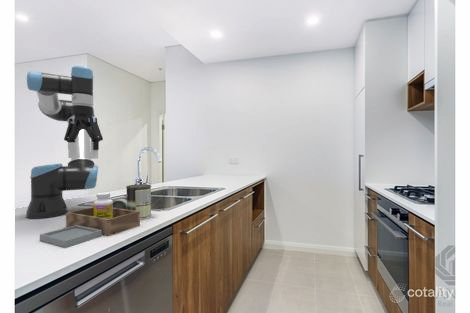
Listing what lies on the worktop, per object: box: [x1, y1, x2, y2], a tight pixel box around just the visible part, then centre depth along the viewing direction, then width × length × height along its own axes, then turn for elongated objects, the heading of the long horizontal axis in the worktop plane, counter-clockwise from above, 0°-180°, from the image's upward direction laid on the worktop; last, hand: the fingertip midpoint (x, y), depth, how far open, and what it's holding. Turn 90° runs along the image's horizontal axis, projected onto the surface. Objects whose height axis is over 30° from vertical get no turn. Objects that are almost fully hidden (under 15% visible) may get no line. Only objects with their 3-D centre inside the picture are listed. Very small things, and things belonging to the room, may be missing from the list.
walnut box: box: [65, 206, 141, 237], centre depth 98 cm, size 24×14×6 cm, turn 64°
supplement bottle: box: [93, 192, 114, 219], centre depth 98 cm, size 7×7×13 cm
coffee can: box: [125, 183, 152, 221], centre depth 111 cm, size 10×10×14 cm
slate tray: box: [39, 225, 103, 249], centre depth 84 cm, size 14×12×2 cm
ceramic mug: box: [113, 198, 127, 210], centre depth 115 cm, size 11×8×8 cm
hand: (83, 158), depth 102 cm, fingers open, 13 cm apart
